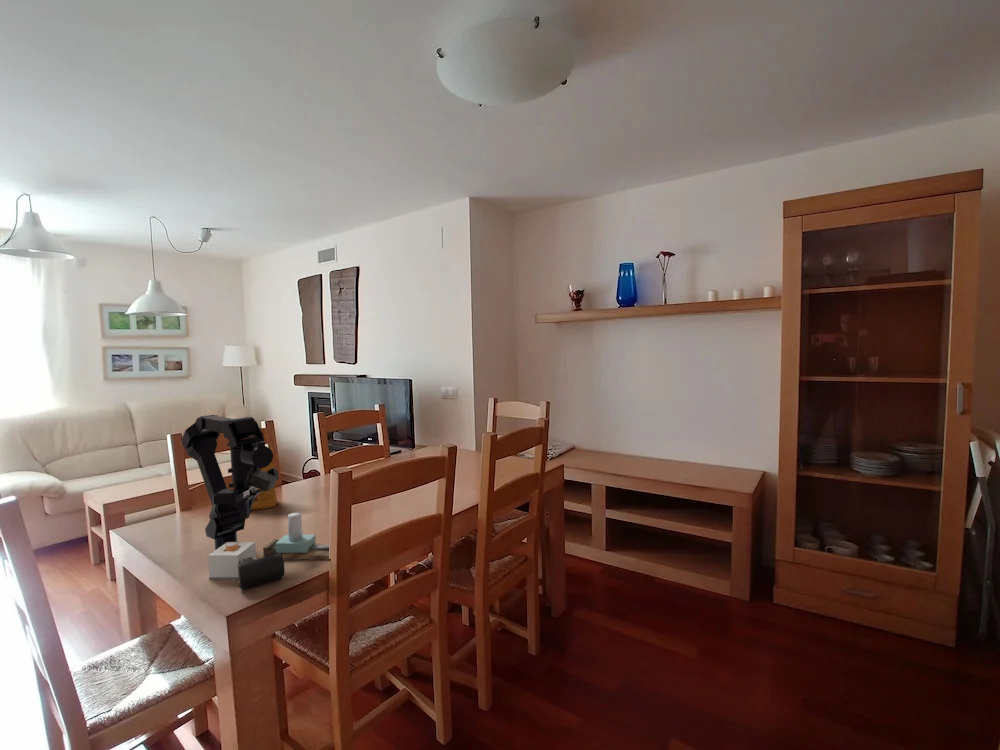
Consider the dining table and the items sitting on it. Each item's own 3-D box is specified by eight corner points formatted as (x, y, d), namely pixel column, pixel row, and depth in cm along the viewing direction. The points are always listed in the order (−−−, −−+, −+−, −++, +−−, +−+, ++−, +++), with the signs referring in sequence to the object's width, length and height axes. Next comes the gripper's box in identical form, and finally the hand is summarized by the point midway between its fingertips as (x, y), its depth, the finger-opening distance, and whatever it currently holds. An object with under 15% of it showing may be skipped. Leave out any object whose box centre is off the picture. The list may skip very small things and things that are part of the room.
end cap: (241, 595, 113) (239, 569, 112) (237, 583, 118) (236, 558, 118) (285, 582, 119) (284, 557, 118) (280, 572, 124) (278, 547, 124)
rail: (261, 559, 131) (261, 549, 131) (276, 547, 139) (275, 537, 139) (335, 559, 131) (335, 549, 130) (346, 547, 139) (345, 537, 138)
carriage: (275, 552, 132) (273, 518, 131) (286, 543, 138) (284, 511, 137) (306, 552, 132) (304, 518, 131) (315, 543, 138) (314, 511, 137)
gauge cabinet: (209, 579, 121) (207, 555, 120) (228, 564, 129) (227, 542, 128) (239, 579, 120) (237, 555, 120) (256, 564, 128) (255, 541, 128)
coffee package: (243, 504, 178) (240, 448, 177) (278, 500, 182) (275, 445, 181) (238, 513, 169) (234, 454, 167) (275, 508, 173) (272, 450, 172)
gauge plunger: (224, 558, 123) (223, 546, 123) (230, 554, 126) (230, 541, 126) (234, 558, 123) (233, 546, 123) (240, 554, 126) (240, 541, 125)
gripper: (251, 472, 118) (255, 532, 119) (288, 454, 136) (291, 506, 137) (209, 472, 118) (213, 532, 119) (252, 455, 137) (255, 506, 138)
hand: (246, 518), depth 128 cm, fingers closed
